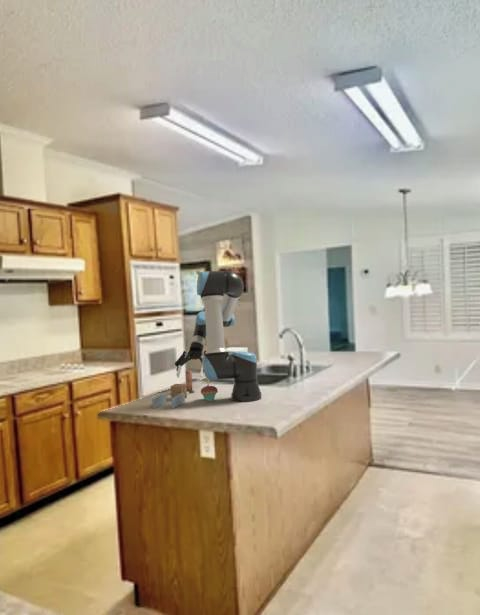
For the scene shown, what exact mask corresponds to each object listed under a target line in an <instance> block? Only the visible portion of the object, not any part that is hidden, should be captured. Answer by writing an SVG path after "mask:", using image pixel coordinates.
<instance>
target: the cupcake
mask: <svg viewBox="0 0 480 615" xmlns="http://www.w3.org/2000/svg"><path fill="white" fill-rule="evenodd" d="M206 382H207V385H206V386H204V387H202V388H201V389H200V394H201V395H202V397H203V399H204V401H205V402H212V401H215V398H216V395H217V393H218V392H219V391H218V388H217V387H216V386H215V385H210V383H209V382H210V380H208V379H207V378H206Z"/></svg>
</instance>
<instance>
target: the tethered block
mask: <svg viewBox="0 0 480 615" xmlns="http://www.w3.org/2000/svg"><path fill="white" fill-rule="evenodd" d="M181 393H184V394H185V399H186V398H188V395H189V394H194V393H195V391H194V390H193V374H192V370H186V371H185V383H174V384H172V385H171V386H170V400H171V399H172V398H174V397H176V396H177V395H179V394H181ZM188 393H189V394H188Z"/></svg>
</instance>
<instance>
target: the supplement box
mask: <svg viewBox="0 0 480 615" xmlns="http://www.w3.org/2000/svg"><path fill="white" fill-rule="evenodd" d="M225 349H226V350H227V351H228V352H229V355H233V352H236V351H240V352H249V351H248V350H249V348H248V347H244V346H243V347H242V346H241V347H238V346H237V347H233V346H231V347H230V346H229V347H227V348H226V347H225ZM221 381H227V382H234V378H233V379H223V380H221Z"/></svg>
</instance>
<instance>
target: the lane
mask: <svg viewBox="0 0 480 615" xmlns="http://www.w3.org/2000/svg"><path fill="white" fill-rule="evenodd" d="M167 396H168V395H167V392H162V393H161V394H159V395H156V396H155V397H153V398H152V399H151V403H152V405H151V406H152V409H156V408H158V407H160V406H161V405H163V404H165V403H166V402H167V401H168V400H167V399H168V398H167ZM185 401H186V398H185V394H184V393H181V394H179V395H177V396H176V397H174V398H172V399H171V398H170V402H171V403H170V404H171V410H174V409H176V408H177V407H179V406H181V405H183V402H184V403H185ZM180 404H181V405H180ZM178 405H179V406H178ZM175 407H176V408H175Z"/></svg>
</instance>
